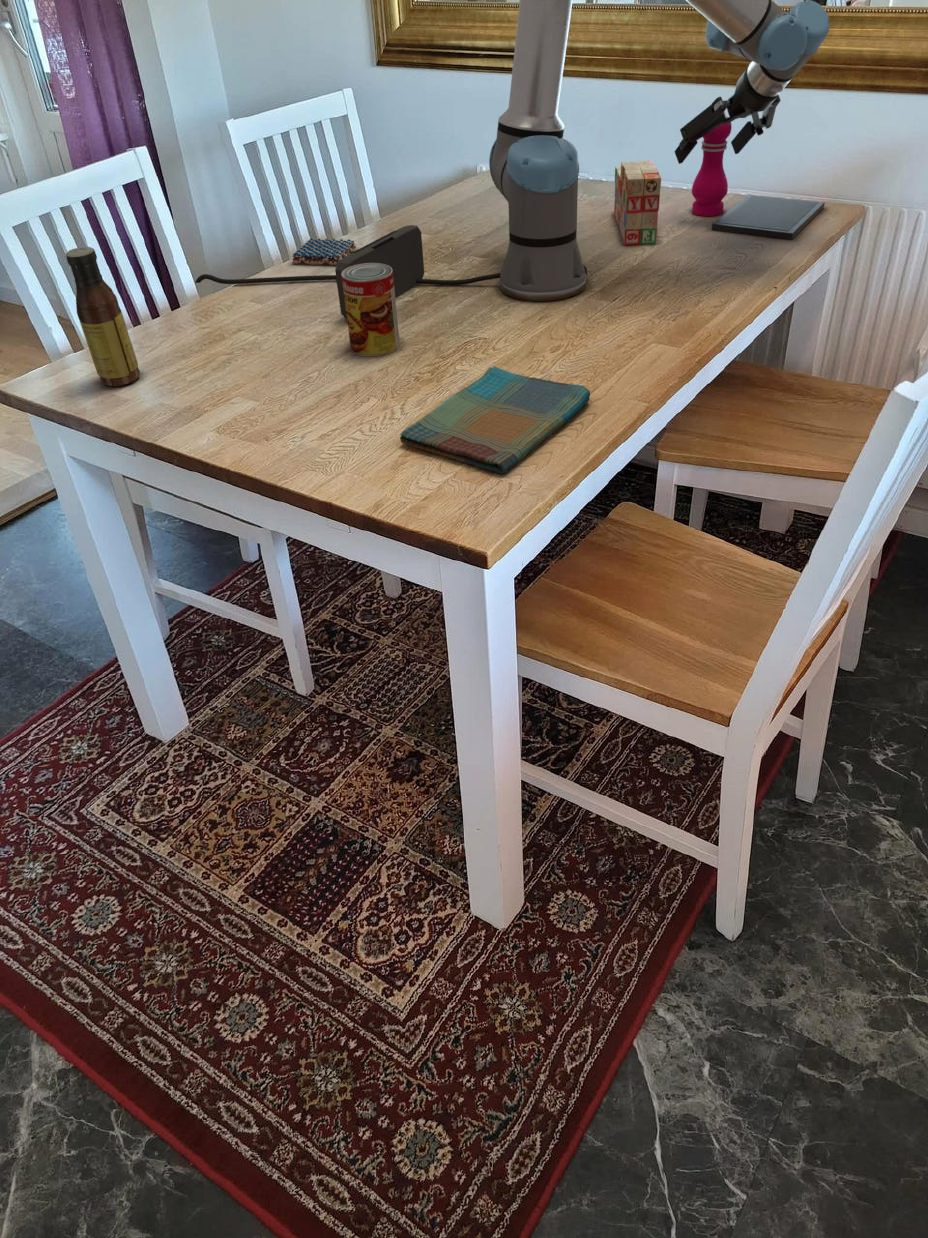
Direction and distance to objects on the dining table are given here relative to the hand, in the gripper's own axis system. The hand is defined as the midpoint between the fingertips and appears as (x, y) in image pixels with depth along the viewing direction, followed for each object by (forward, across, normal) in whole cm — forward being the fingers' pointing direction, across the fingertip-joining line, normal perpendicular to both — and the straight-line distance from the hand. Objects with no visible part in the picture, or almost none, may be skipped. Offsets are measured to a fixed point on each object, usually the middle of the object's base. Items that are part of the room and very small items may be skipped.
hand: (706, 152), depth 197 cm
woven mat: (+18, -78, +2) cm, 80 cm away
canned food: (-15, -84, -31) cm, 91 cm away
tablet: (-1, +8, -17) cm, 18 cm away
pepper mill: (+7, 0, -9) cm, 11 cm away
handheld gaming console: (-1, -76, -18) cm, 78 cm away
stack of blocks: (+6, -18, -10) cm, 21 cm away
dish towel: (-39, -78, -55) cm, 104 cm away
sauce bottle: (-9, -124, -26) cm, 126 cm away
